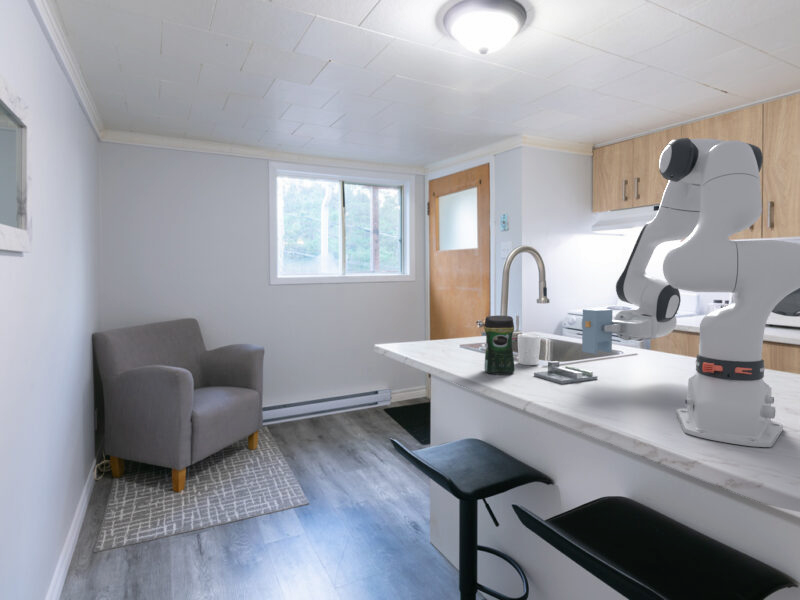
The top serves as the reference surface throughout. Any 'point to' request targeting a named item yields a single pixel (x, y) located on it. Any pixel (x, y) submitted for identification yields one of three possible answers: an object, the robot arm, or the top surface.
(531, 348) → the white cup
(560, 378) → the rail plate
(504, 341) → the coffee jar
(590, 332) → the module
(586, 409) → the top surface
